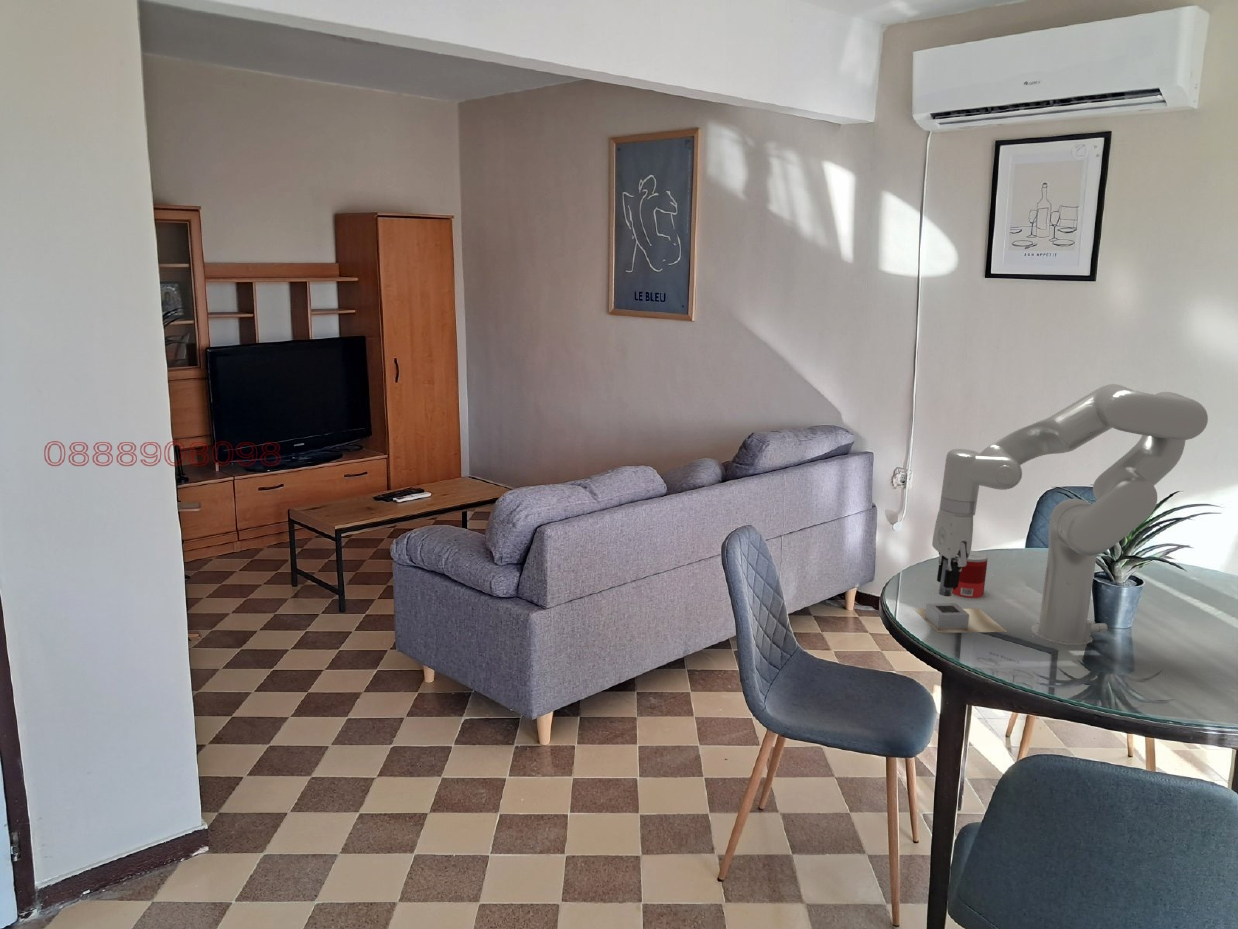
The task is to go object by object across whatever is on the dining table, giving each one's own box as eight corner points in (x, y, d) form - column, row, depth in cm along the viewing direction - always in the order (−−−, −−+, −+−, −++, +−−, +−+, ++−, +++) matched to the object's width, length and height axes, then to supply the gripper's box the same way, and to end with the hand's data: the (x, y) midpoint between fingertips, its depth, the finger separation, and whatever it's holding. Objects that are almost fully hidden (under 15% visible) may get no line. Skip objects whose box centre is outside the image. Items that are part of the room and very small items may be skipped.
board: (978, 613, 226) (978, 608, 226) (1006, 636, 212) (1007, 631, 212) (913, 614, 225) (913, 609, 224) (937, 637, 211) (938, 632, 211)
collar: (954, 617, 220) (955, 603, 219) (967, 629, 213) (969, 614, 212) (924, 618, 219) (926, 603, 218) (937, 629, 212) (939, 615, 211)
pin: (948, 592, 216) (953, 558, 214) (953, 596, 213) (959, 562, 212) (936, 591, 216) (941, 558, 214) (941, 596, 213) (947, 562, 211)
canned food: (989, 600, 235) (994, 557, 232) (963, 604, 232) (968, 561, 230) (968, 590, 242) (972, 548, 239) (942, 593, 239) (947, 551, 237)
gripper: (926, 495, 217) (917, 572, 222) (957, 515, 202) (946, 597, 206) (958, 496, 218) (948, 572, 222) (991, 516, 202) (979, 598, 206)
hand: (947, 583), depth 214 cm, fingers closed on pin, 2 cm apart
